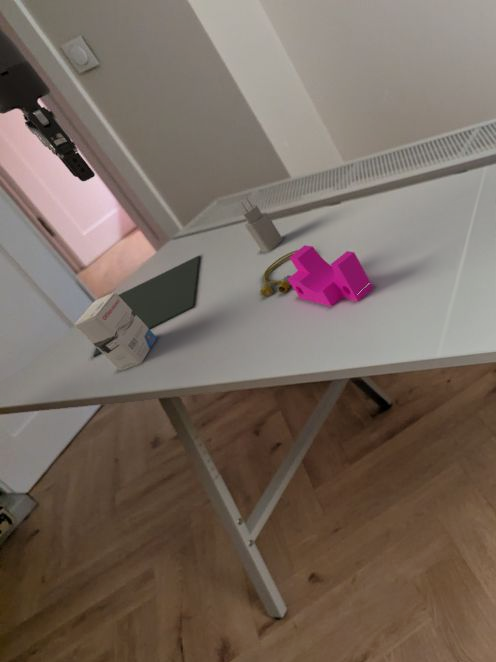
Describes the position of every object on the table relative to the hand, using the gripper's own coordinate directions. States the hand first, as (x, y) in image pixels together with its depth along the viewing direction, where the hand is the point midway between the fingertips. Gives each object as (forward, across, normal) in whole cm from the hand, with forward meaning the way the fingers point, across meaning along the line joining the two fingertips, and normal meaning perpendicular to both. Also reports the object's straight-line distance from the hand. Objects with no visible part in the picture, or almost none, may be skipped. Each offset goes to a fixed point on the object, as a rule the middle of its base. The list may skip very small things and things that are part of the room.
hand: (85, 176), depth 85 cm
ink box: (+31, -7, -12) cm, 34 cm away
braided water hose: (+31, +1, +18) cm, 36 cm away
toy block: (+31, +21, +19) cm, 42 cm away
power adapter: (+31, -18, +23) cm, 43 cm away
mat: (+31, -30, -4) cm, 43 cm away
